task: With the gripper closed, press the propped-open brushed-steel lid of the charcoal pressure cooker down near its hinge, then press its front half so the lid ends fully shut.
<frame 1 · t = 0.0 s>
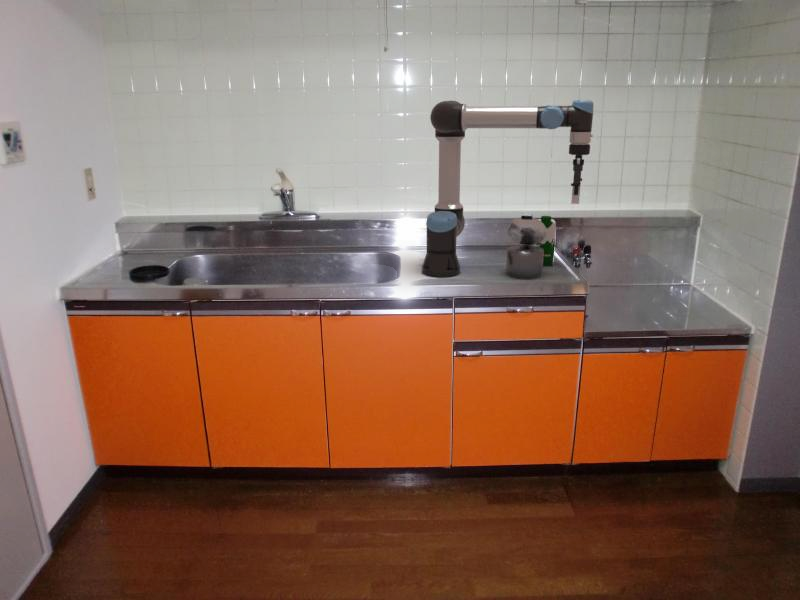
hand: (575, 200, 235), 28 cm above the table, tool pointing down, fingers open, 13 cm apart
milk carton: (542, 263, 256), on the table
cooker lid: (527, 228, 239), point 17 cm above the table, hinge at 55.0°
cooker pot: (523, 274, 240), on the table
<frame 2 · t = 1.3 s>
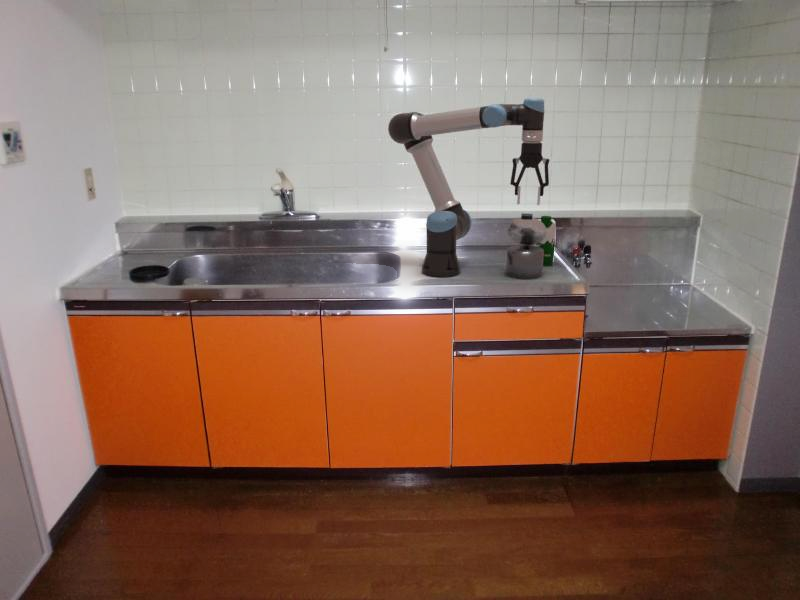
hand: (528, 204, 235), 27 cm above the table, tool pointing down, fingers open, 7 cm apart
nothing on the table moved.
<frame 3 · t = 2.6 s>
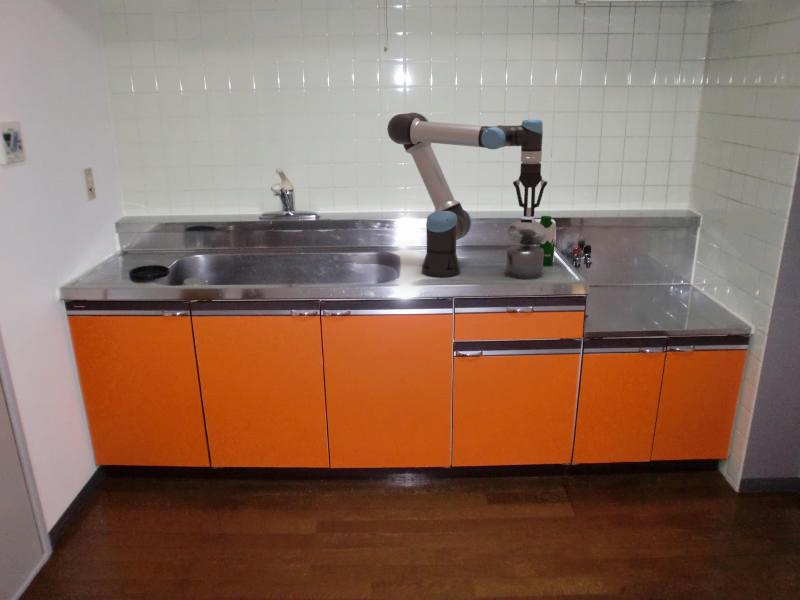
hand: (528, 224, 237), 19 cm above the table, tool pointing down, fingers closed
cooker lid: (526, 229, 238), point 17 cm above the table, hinge at 48.6°
everything else where it was.
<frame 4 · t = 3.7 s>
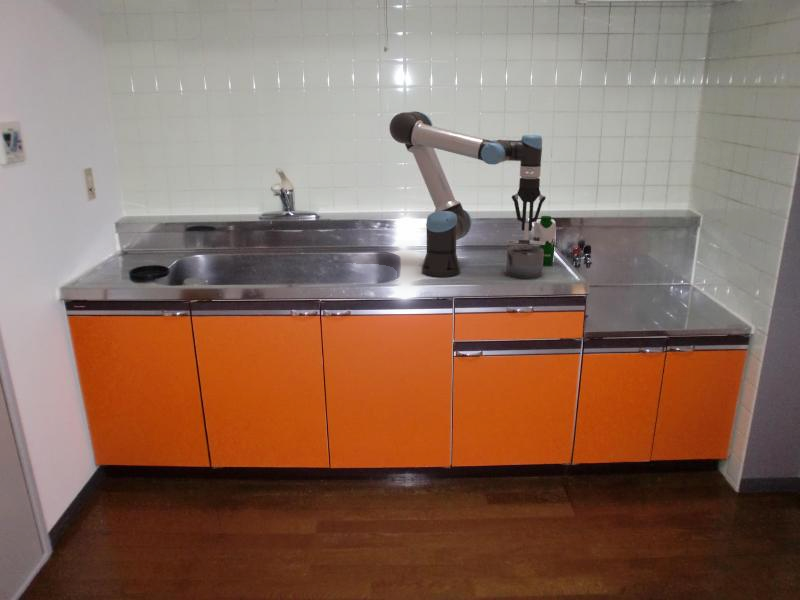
hand: (526, 238, 239), 13 cm above the table, tool pointing down, fingers closed
cooker lid: (525, 240, 236), point 14 cm above the table, hinge at 13.7°
everything else where it was.
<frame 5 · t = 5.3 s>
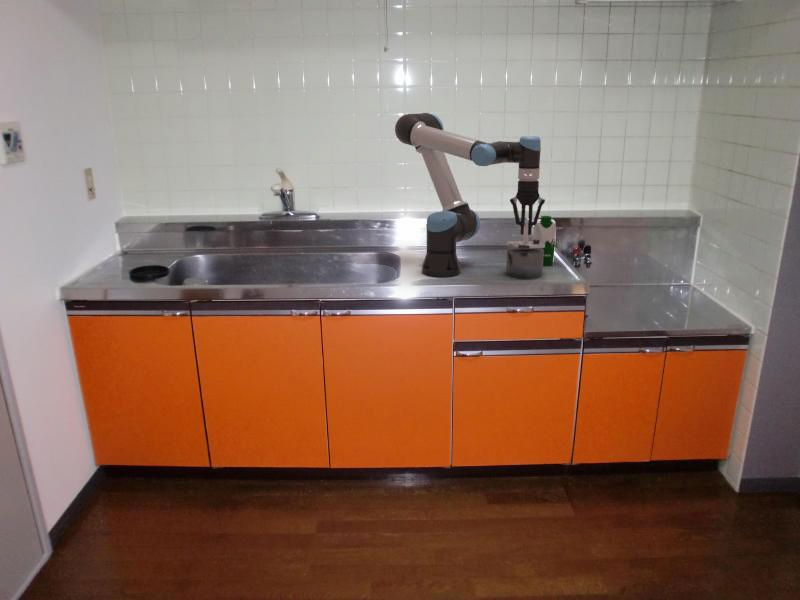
hand: (525, 243, 232), 13 cm above the table, tool pointing down, fingers closed
cooker lid: (525, 242, 236), point 13 cm above the table, hinge at 6.8°, touching gripper
everything else where it was.
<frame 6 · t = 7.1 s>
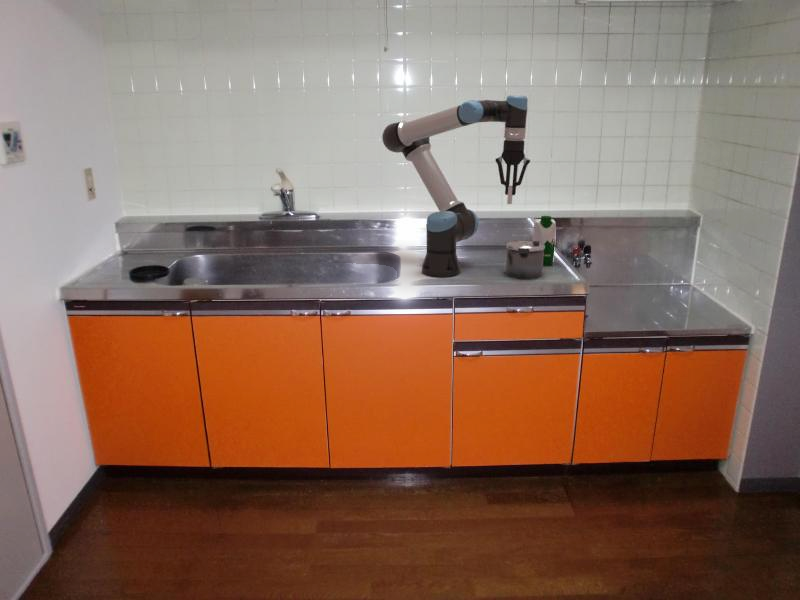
hand: (509, 203, 234), 27 cm above the table, tool pointing down, fingers closed
cooker lid: (525, 244, 236), point 12 cm above the table, hinge at 2.1°
everything else where it was.
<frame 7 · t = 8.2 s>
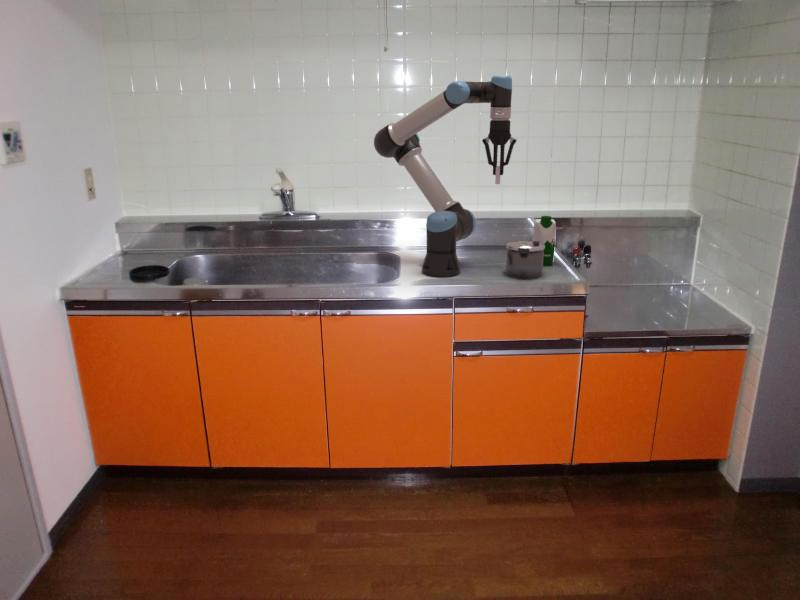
hand: (497, 183, 236), 34 cm above the table, tool pointing down, fingers closed
nothing on the table moved.
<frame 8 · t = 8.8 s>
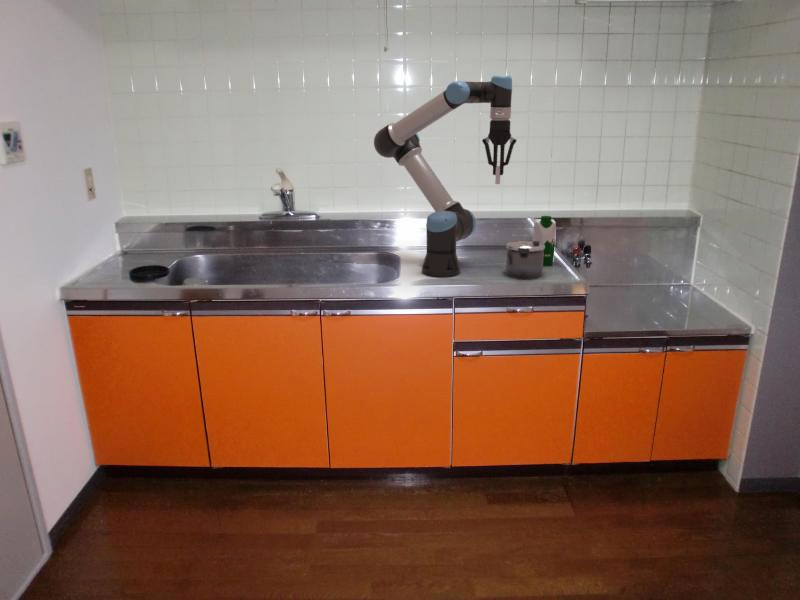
hand: (497, 183, 236), 34 cm above the table, tool pointing down, fingers closed
nothing on the table moved.
at the end: cooker lid at +2° (first picture: +55°); milk carton moved 0.2 cm from its start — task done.
